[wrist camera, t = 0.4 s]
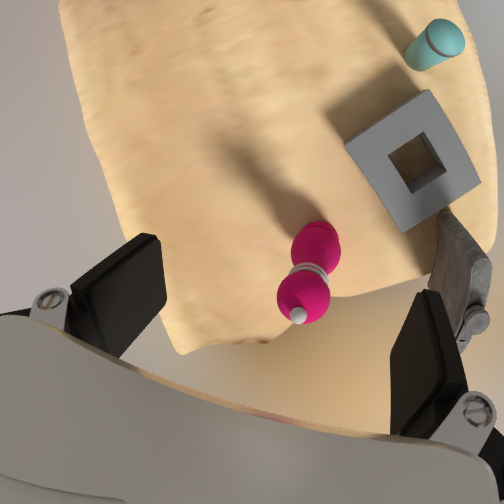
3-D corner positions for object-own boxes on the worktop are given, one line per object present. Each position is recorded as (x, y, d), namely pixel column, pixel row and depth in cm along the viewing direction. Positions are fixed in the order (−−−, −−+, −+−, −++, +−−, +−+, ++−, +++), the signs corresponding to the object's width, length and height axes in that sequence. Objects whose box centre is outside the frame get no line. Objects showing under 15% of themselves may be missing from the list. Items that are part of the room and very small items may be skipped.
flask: (458, 210, 37) (508, 269, 21) (444, 290, 43) (470, 368, 27) (438, 209, 38) (481, 268, 22) (426, 290, 44) (446, 369, 29)
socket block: (344, 142, 38) (343, 146, 34) (419, 91, 31) (428, 88, 27) (396, 221, 41) (401, 234, 36) (468, 174, 34) (481, 182, 29)
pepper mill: (287, 239, 48) (248, 316, 31) (317, 208, 44) (294, 277, 27) (319, 268, 48) (298, 355, 31) (351, 240, 44) (347, 324, 28)
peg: (397, 53, 30) (419, 27, 18) (418, 40, 28) (446, 12, 16) (416, 76, 30) (446, 62, 19) (436, 63, 28) (472, 46, 17)
